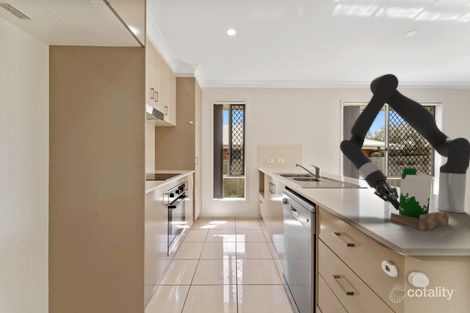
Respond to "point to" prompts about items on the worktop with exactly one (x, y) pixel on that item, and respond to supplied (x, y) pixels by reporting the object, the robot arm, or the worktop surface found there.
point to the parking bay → (423, 220)
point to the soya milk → (414, 193)
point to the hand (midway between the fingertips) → (400, 209)
